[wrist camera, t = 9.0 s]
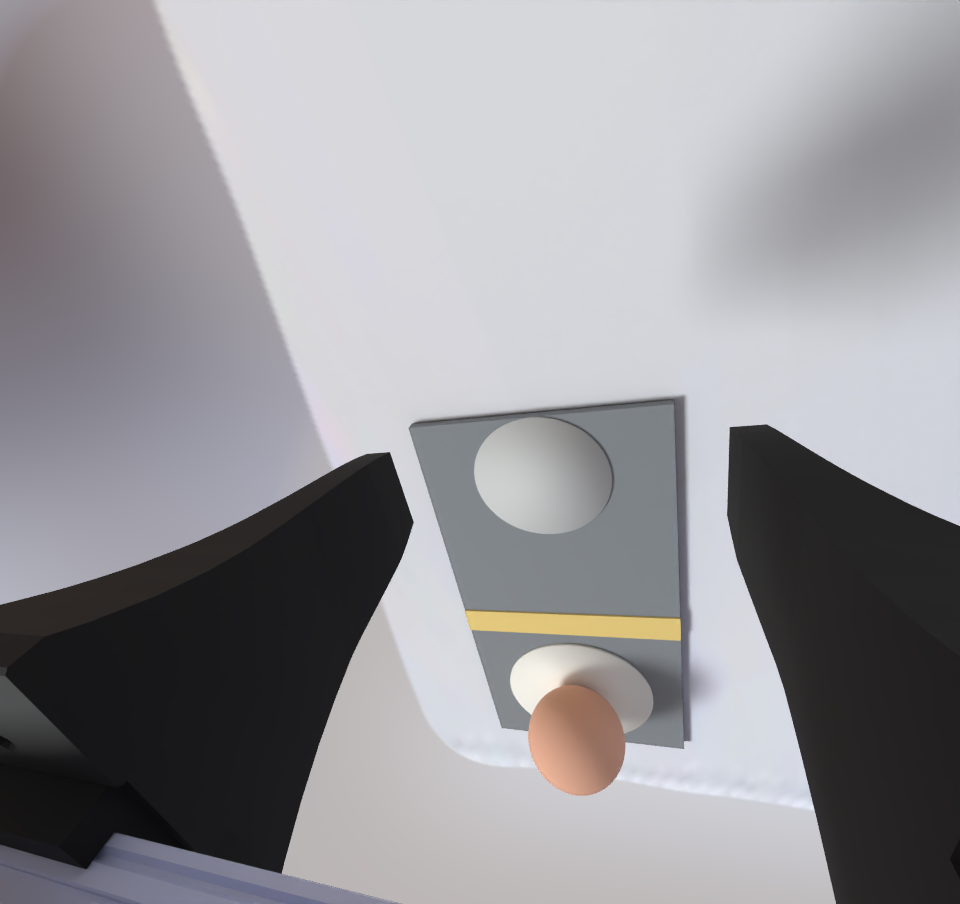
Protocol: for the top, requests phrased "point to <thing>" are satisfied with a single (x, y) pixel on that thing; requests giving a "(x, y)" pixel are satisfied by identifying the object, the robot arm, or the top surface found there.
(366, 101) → the top surface
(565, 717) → the ball
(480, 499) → the mat
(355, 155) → the top surface
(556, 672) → the white disc
